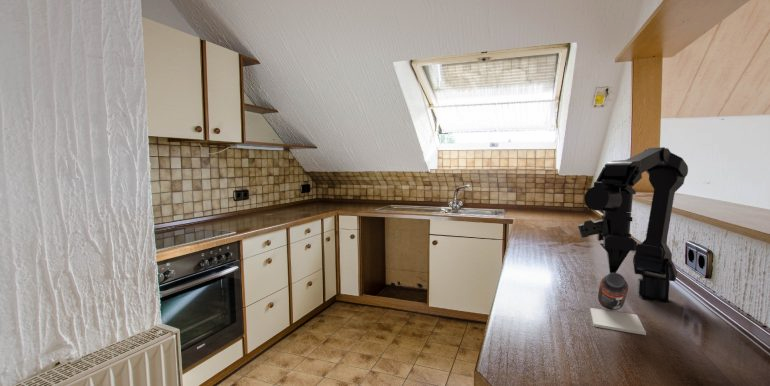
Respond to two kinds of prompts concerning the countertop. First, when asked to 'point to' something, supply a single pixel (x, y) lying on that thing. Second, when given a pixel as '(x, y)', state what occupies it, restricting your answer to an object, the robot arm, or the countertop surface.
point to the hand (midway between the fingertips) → (612, 273)
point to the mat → (617, 321)
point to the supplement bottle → (612, 291)
